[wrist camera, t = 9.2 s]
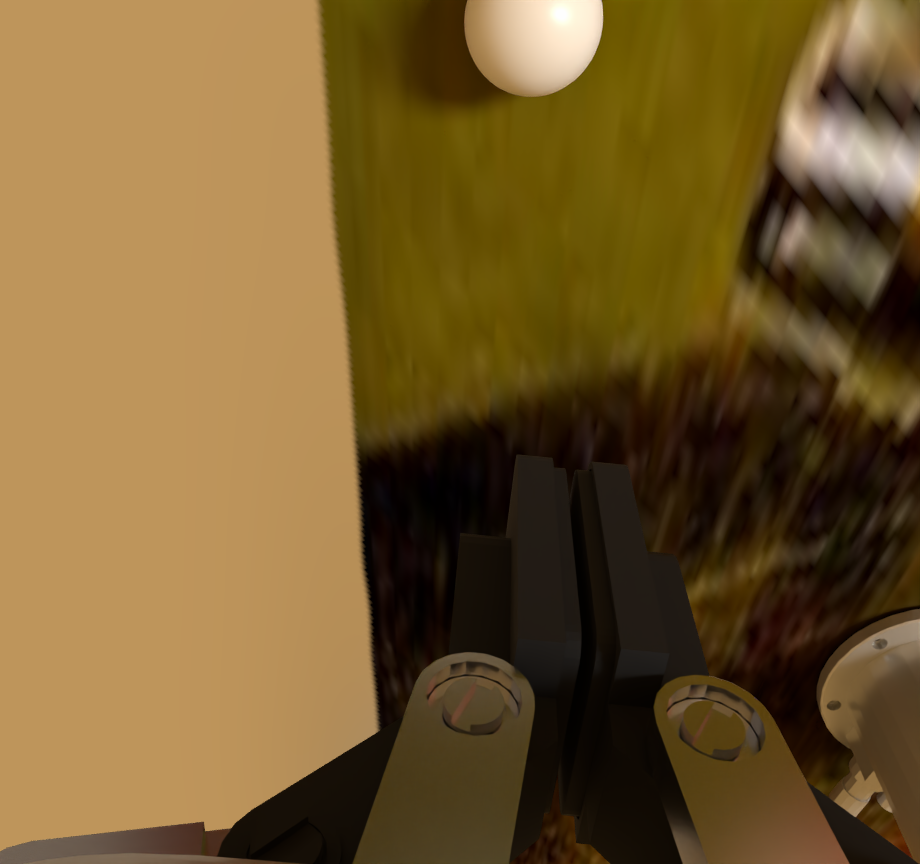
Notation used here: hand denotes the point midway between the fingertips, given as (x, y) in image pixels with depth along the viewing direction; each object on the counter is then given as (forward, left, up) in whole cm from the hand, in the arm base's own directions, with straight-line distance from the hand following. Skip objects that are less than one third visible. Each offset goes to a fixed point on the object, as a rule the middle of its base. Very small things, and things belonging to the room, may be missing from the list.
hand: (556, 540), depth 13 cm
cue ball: (+6, +2, -26) cm, 27 cm away
